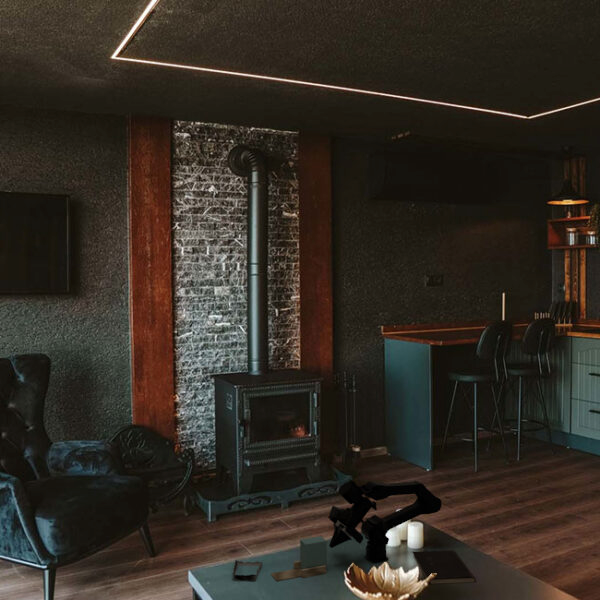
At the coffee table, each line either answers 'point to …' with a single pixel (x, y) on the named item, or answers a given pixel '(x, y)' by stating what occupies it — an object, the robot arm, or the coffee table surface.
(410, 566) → the coffee table surface
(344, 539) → the robot arm
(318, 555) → the block
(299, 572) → the chute
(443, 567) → the hardcover book
